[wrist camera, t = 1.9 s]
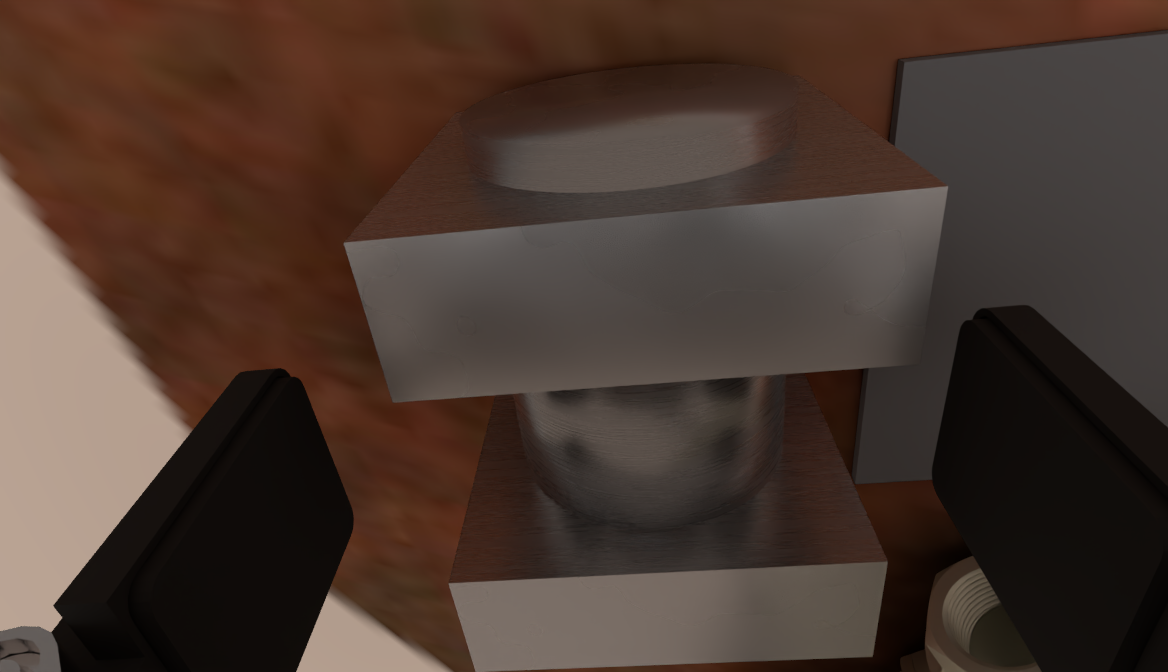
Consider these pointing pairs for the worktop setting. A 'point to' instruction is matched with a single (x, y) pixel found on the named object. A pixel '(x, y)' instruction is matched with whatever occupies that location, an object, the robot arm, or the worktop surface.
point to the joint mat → (1033, 220)
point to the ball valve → (968, 628)
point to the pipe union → (654, 357)
